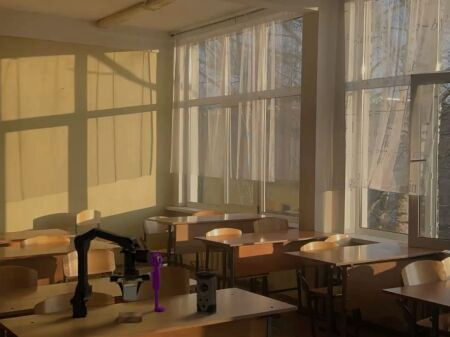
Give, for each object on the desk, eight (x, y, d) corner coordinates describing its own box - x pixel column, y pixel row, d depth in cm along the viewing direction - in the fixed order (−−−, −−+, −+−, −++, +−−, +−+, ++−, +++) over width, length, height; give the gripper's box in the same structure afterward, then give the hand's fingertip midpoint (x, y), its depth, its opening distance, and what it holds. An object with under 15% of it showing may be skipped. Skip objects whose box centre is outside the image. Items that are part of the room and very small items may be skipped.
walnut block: (118, 323, 285) (118, 317, 285) (118, 318, 295) (118, 312, 295) (142, 322, 286) (142, 316, 286) (141, 317, 296) (141, 311, 296)
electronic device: (195, 312, 303) (195, 272, 303) (201, 310, 308) (201, 270, 308) (211, 314, 298) (211, 273, 299) (217, 312, 304) (217, 272, 304)
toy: (153, 319, 291) (153, 256, 291) (138, 318, 292) (138, 255, 292) (173, 303, 324) (173, 247, 325) (160, 303, 326) (159, 246, 326)
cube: (123, 299, 287) (123, 286, 287) (123, 297, 293) (123, 284, 293) (136, 299, 288) (136, 286, 288) (136, 296, 294) (136, 284, 294)
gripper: (109, 266, 281) (109, 300, 281) (150, 264, 284) (150, 298, 284) (110, 262, 292) (110, 295, 292) (149, 261, 295) (149, 293, 295)
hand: (130, 295), depth 291 cm, fingers closed on cube, 6 cm apart
